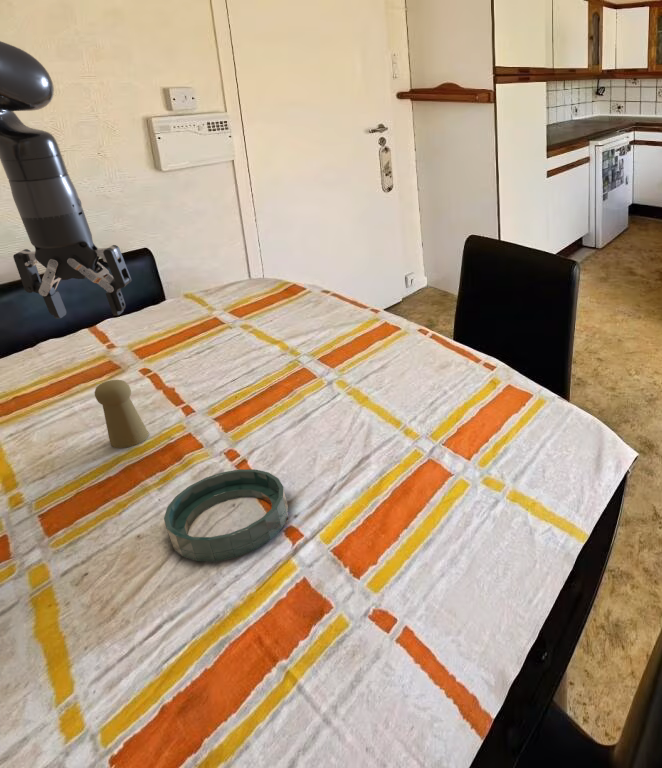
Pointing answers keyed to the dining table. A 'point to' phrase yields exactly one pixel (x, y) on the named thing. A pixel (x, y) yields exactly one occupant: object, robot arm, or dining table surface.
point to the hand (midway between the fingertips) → (90, 314)
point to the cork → (120, 414)
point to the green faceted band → (218, 491)
